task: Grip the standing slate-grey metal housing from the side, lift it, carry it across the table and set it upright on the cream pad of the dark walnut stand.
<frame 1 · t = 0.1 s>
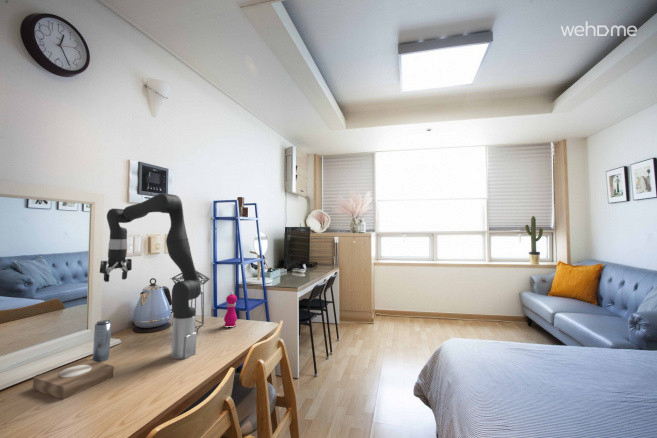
hand: (115, 280, 147), 29 cm above the table, fingers open, 8 cm apart
housing: (100, 359, 124), on the table
stand: (74, 382, 105), on the table
geometric lantern: (187, 334, 157), on the table
pepper mill: (230, 326, 170), on the table
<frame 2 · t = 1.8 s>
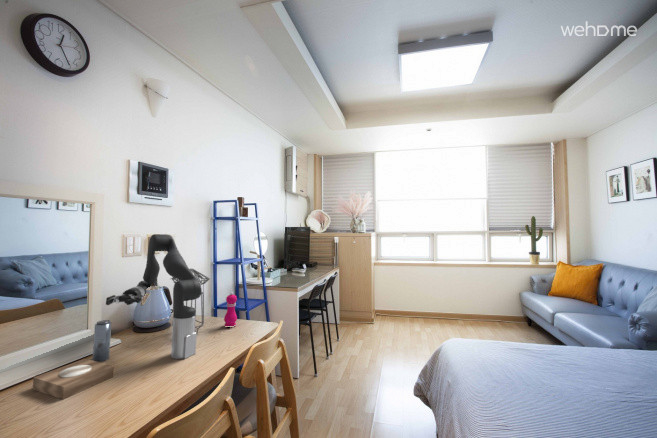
hand: (117, 302, 135), 21 cm above the table, fingers open, 8 cm apart
nothing on the table moved.
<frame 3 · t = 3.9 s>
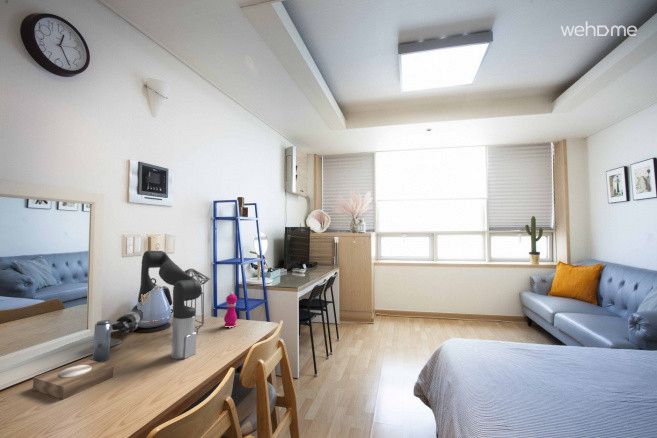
hand: (110, 332, 130), 9 cm above the table, fingers open, 8 cm apart
nothing on the table moved.
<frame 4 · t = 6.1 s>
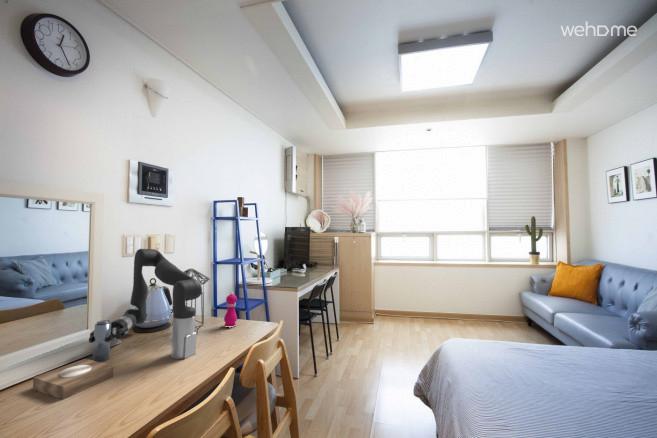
hand: (99, 340, 122), 9 cm above the table, fingers closed on housing, 5 cm apart
housing: (100, 359, 124), on the table, touching gripper
everything else where it was.
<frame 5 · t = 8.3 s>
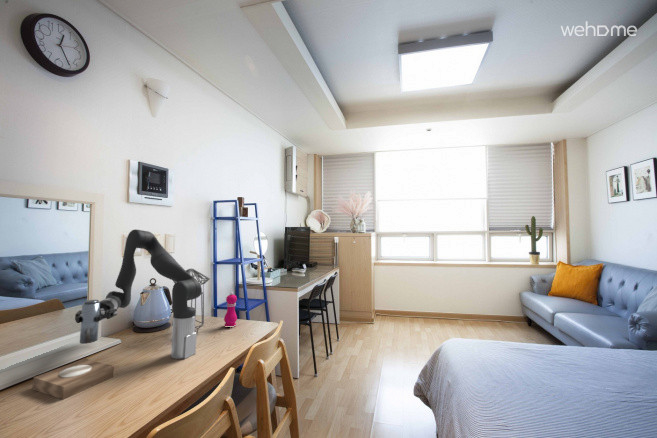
hand: (87, 320, 114), 20 cm above the table, fingers closed on housing, 5 cm apart
housing: (88, 340, 116), point 11 cm above the table, touching gripper
everything else where it was.
when the fingers open (15 cm above the table, at t = 10.8 s): housing drops 1 cm, resting on stand.
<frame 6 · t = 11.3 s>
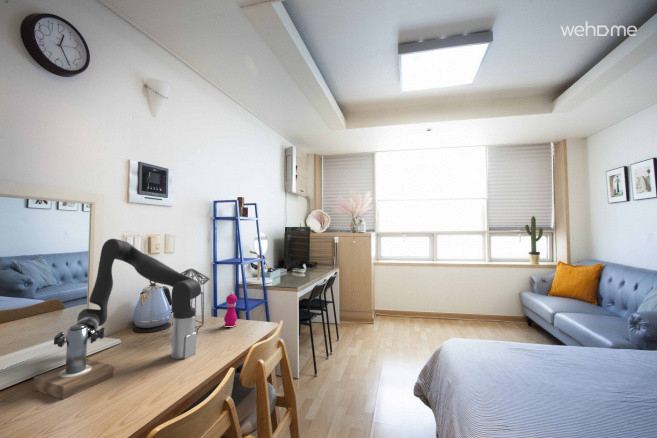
hand: (76, 342, 104), 15 cm above the table, fingers open, 8 cm apart
housing: (75, 370, 105), point 4 cm above the table, touching stand
everything else where it was.
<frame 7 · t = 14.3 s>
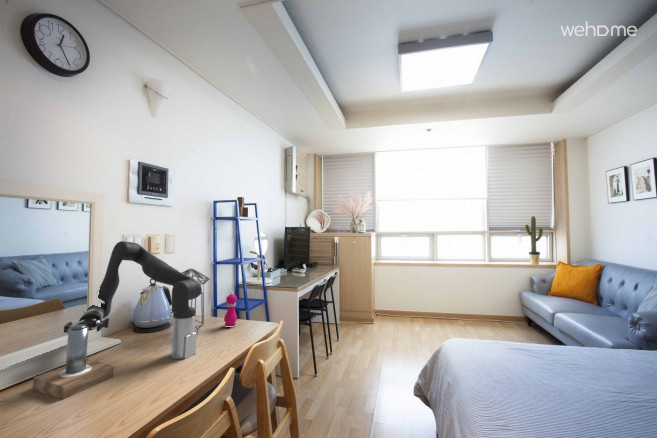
hand: (84, 330, 115), 15 cm above the table, fingers open, 8 cm apart
nothing on the table moved.
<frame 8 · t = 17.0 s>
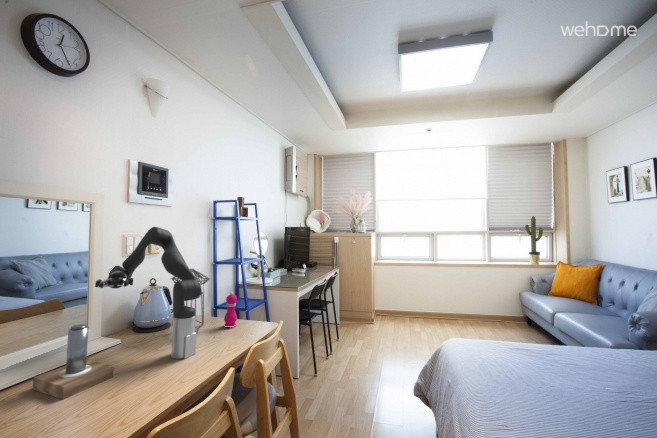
hand: (113, 285, 131), 30 cm above the table, fingers open, 8 cm apart
nothing on the table moved.
at the end: housing inside the target area on the stand (0.1 cm from its centre), point 4.3 cm above the stand's base; housing tilted 0°; the gripper is holding nothing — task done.
